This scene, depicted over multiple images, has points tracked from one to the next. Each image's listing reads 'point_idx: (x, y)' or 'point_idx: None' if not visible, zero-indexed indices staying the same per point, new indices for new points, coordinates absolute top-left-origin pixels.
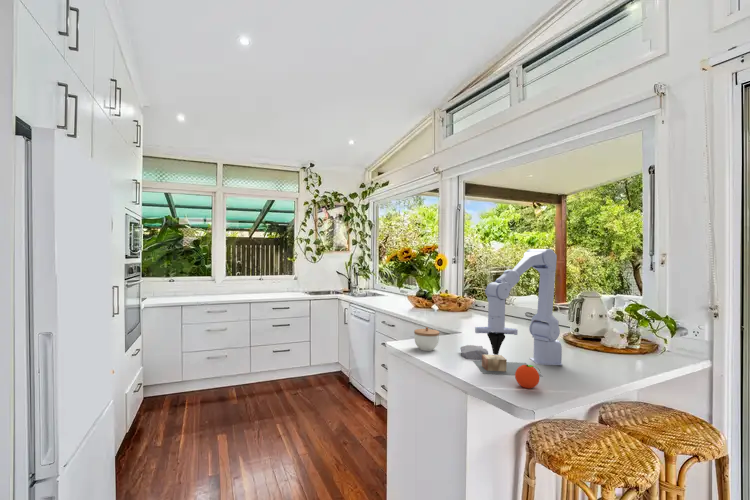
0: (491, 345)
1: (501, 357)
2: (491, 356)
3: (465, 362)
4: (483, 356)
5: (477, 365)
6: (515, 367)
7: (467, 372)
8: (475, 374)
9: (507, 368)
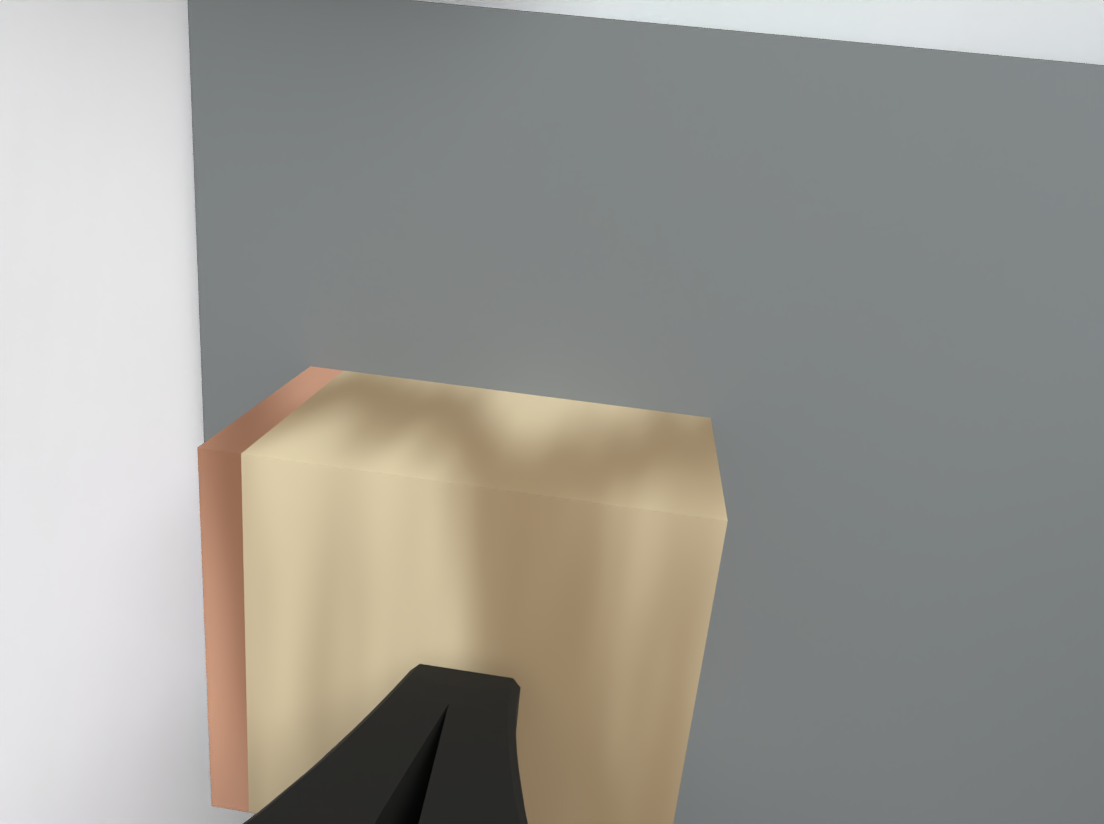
0: (296, 785)
1: (626, 713)
2: (394, 630)
3: (29, 83)
4: (209, 576)
5: (221, 373)
6: (997, 500)
7: (4, 683)
8: (112, 769)
9: (773, 563)
